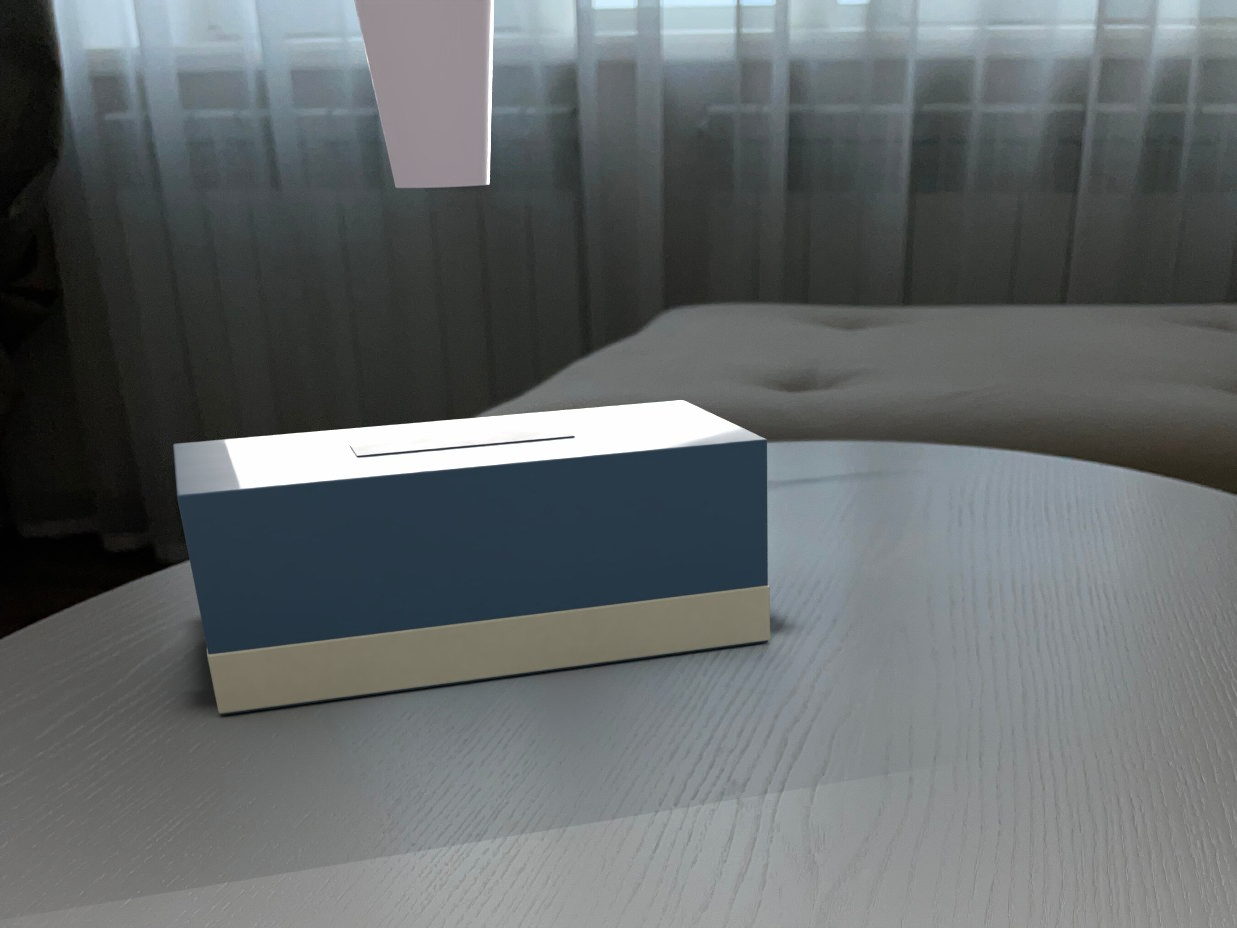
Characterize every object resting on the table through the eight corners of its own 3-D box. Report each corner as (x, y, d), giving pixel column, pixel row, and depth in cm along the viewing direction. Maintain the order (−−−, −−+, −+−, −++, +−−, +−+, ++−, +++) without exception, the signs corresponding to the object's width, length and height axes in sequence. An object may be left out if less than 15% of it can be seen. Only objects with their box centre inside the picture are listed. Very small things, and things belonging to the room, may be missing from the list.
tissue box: (219, 717, 57) (175, 494, 52) (209, 636, 66) (171, 442, 62) (770, 642, 63) (769, 437, 58) (690, 578, 72) (684, 398, 68)
